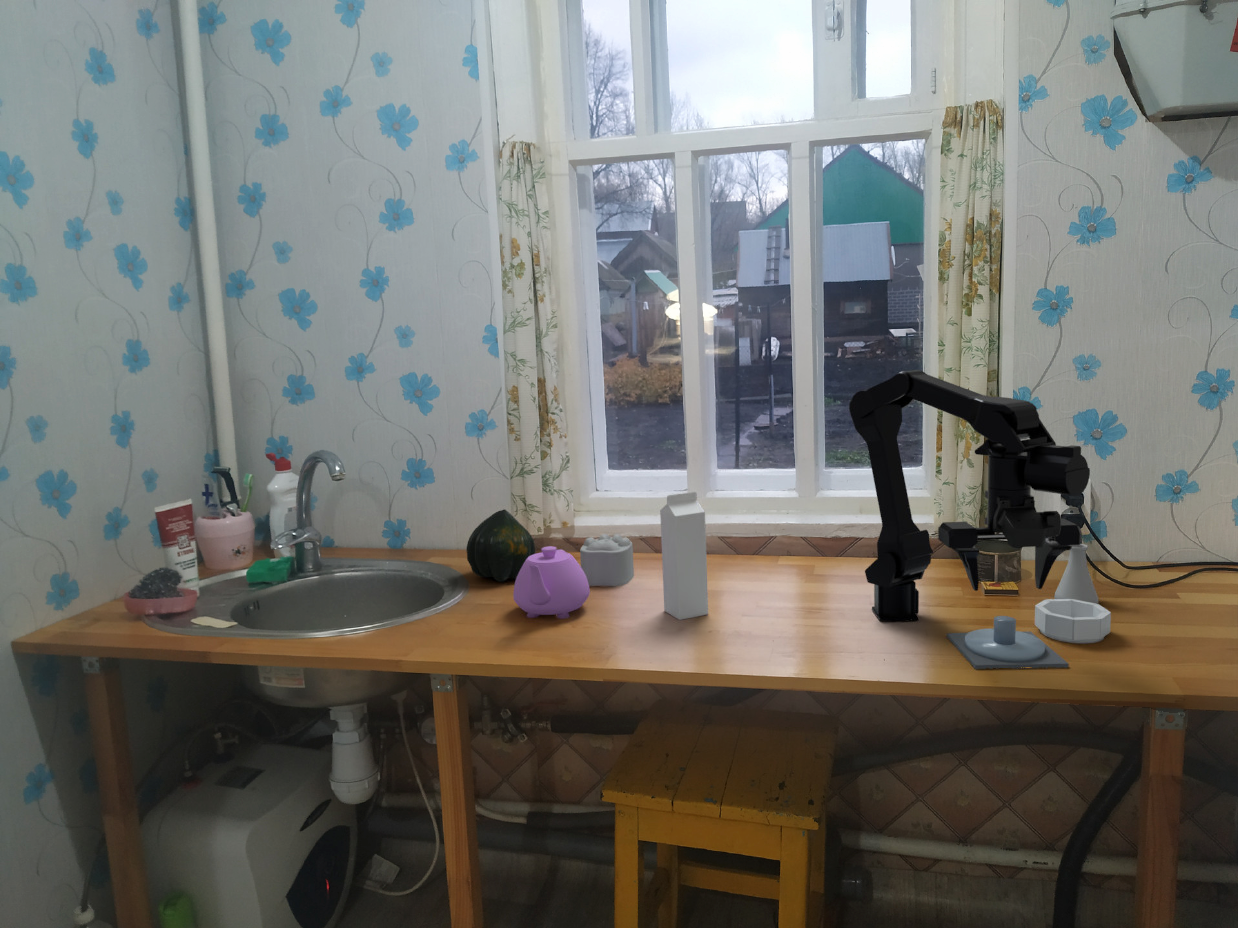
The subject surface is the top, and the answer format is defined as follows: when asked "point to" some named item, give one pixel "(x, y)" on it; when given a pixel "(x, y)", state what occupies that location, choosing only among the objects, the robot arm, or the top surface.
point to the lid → (1004, 642)
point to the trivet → (982, 662)
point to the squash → (499, 547)
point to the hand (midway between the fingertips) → (1007, 589)
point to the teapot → (550, 584)
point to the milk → (684, 556)
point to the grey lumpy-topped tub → (607, 560)
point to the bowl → (1072, 620)
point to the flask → (1077, 578)
